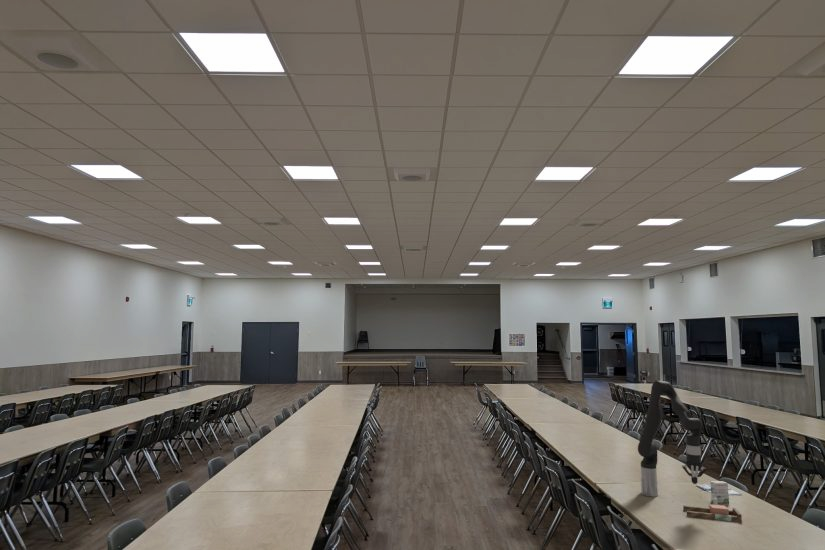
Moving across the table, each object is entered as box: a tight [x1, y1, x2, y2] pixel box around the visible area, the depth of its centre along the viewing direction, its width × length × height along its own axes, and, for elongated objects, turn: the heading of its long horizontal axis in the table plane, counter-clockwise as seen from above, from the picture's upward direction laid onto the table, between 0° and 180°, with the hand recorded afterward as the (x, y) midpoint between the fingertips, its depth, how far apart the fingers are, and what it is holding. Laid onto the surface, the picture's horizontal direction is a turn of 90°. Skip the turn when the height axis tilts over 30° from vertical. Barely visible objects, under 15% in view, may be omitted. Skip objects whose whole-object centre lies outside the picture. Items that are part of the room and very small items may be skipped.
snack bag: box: [695, 484, 743, 496], centre depth 330 cm, size 19×20×2 cm
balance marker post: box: [712, 498, 719, 505], centre depth 292 cm, size 2×2×7 cm
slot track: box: [682, 504, 743, 523], centre depth 284 cm, size 27×11×4 cm, turn 72°
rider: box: [708, 504, 730, 515], centre depth 283 cm, size 8×6×6 cm
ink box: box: [709, 480, 730, 504], centre depth 309 cm, size 8×5×12 cm, turn 93°
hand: (694, 483), depth 288 cm, fingers closed
